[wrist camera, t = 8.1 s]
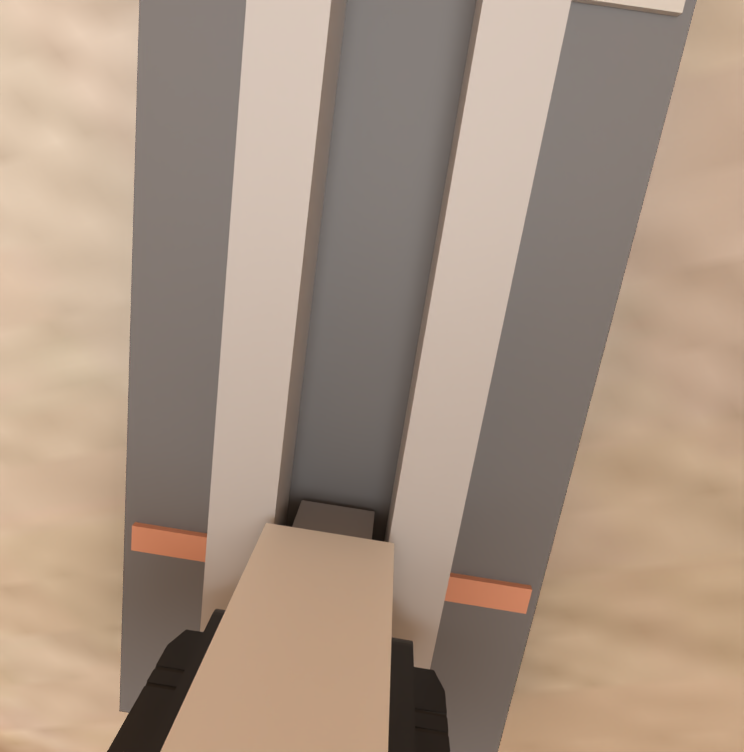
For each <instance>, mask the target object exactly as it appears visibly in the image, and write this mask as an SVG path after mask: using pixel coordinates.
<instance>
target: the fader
mask: <svg viewBox="0 0 744 752" xmlns="http://www.w3.org/2000/svg"><path fill="white" fill-rule="evenodd" d="M374 513H375V512H374V511H367V510H361V509H355V508H348V507H342V506H336V505H330V504H323V503H317V502H311V501H304V500H302V501H301V504H300V506H299V509H298V512H297V515H296V517H295V520H294V523H293V525H292V527H289V526H283V525H277V524H270V523H266V524H265V526H264V528H263V531H262V533H261V535H260V537H259V539H258V541H257V544H256V546H255V548H254V550H253V552H252V554H251V557H250V559H249V561H248V563H247V565H246V567H245V570H244V572H243V574H242V576H241V578H240V580H239V583H238V585H237V587H236V589H235V591H234V593H233V596H232V598H231V600H230V602H229V604H228V606H227V608H226V611H225V613H224V615H223V617H222V619H221V621H220V624H219V626H218V628H217V630H216V632H215V634H214V637H213V639H212V641H211V643H210V645H209V647H208V650H207V652H206V654H205V656H204V658H203V660H202V663H201V665H200V667H199V669H198V671H197V673H196V676H195V678H194V680H193V682H192V684H191V686H190V689H189V691H188V693H187V695H186V697H185V699H184V702H183V704H182V706H181V708H180V710H179V712H178V715H177V717H176V719H175V721H174V723H173V725H172V728H171V730H170V732H169V734H168V736H167V738H166V741H165V743H164V745H163V747H162V749H161V751H160V752H388V736H389V703H390V670H391V638H392V605H393V573H394V543H389V542H383V541H377V540H372V533H373V523H374Z"/></svg>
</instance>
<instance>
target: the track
mask: <svg viewBox="0 0 744 752" xmlns="http://www.w3.org/2000/svg"><path fill="white" fill-rule="evenodd" d="M696 1H697V0H139V35H138V71H137V107H136V142H135V178H134V214H133V249H132V285H131V321H130V357H129V392H128V428H127V464H126V499H125V535H124V571H123V606H122V642H121V678H120V711H122V712H128V713H129V712H130V710H131V709H132V707H133V705H134V703H135V702H136V700H137V698H138V696H139V694H140V693H141V691H142V689H143V687H144V686H146V683H147V680H148V678H149V677H150V675H151V673H152V671H153V669H155V667H156V664H157V662H158V660H159V659H160V657H161V655H162V653H163V652H164V650H165V648H166V646H167V645H168V644H169V643H170V642H171V641H173V640H174V639H175V638H176V637H177V636H179V635H180V634H181V633H182V632H184V631H185V630H186V629H187V630H193V631H199V632H204V630H205V628H206V626H207V624H208V622H209V620H210V617H211V615H212V613H213V612H214V610H215V609H222V610H226V608H227V606H228V604H229V602H230V600H231V598H232V596H233V593H234V591H235V589H236V587H237V585H238V583H239V580H240V578H241V576H242V574H243V572H244V570H245V567H246V565H247V563H248V561H249V559H250V557H251V554H252V552H253V550H254V548H255V546H256V544H257V541H258V539H259V537H260V535H261V533H262V531H263V528H264V526H265V524H266V523H270V524H277V525H283V526H289V527H292V525H293V523H294V520H295V517H296V515H297V512H298V509H299V506H300V504H301V501H302V500H304V501H311V502H317V503H323V504H330V505H336V506H342V507H348V508H355V509H361V510H367V511H374V512H375V513H374V523H373V533H372V540H377V541H383V542H389V543H394V573H393V605H392V637H393V638H399V639H405V640H411V641H413V655H414V667H418V668H424V669H431V670H434V671H435V673H436V675H437V677H438V679H439V681H440V682H441V684H442V686H443V688H444V690H445V697H446V709H447V720H448V737H449V743H450V752H498V748H499V745H500V741H501V737H502V733H503V730H504V726H505V722H506V718H507V714H508V711H509V707H510V703H511V699H512V696H513V692H514V688H515V684H516V681H517V677H518V673H519V669H520V665H521V662H522V658H523V654H524V650H525V647H526V643H527V639H528V635H529V631H530V628H531V624H532V620H533V616H534V613H535V609H536V605H537V601H538V597H539V594H540V590H541V586H542V582H543V579H544V575H545V571H546V567H547V563H548V560H549V556H550V552H551V548H552V545H553V541H554V537H555V533H556V529H557V526H558V522H559V518H560V514H561V511H562V507H563V503H564V499H565V495H566V492H567V488H568V484H569V480H570V477H571V473H572V469H573V465H574V461H575V458H576V454H577V450H578V446H579V443H580V439H581V435H582V431H583V427H584V424H585V420H586V416H587V412H588V409H589V405H590V401H591V397H592V393H593V390H594V386H595V382H596V378H597V375H598V371H599V367H600V363H601V359H602V356H603V352H604V348H605V344H606V341H607V337H608V333H609V329H610V325H611V322H612V318H613V314H614V310H615V307H616V303H617V299H618V295H619V291H620V288H621V284H622V280H623V276H624V273H625V269H626V265H627V261H628V257H629V254H630V250H631V246H632V242H633V239H634V235H635V231H636V227H637V223H638V220H639V216H640V212H641V208H642V205H643V201H644V197H645V193H646V189H647V186H648V182H649V178H650V174H651V171H652V167H653V163H654V159H655V155H656V152H657V148H658V144H659V140H660V137H661V133H662V129H663V125H664V121H665V118H666V114H667V110H668V106H669V103H670V99H671V95H672V91H673V87H674V84H675V80H676V76H677V72H678V69H679V65H680V61H681V57H682V53H683V50H684V46H685V42H686V38H687V35H688V31H689V27H690V23H691V19H692V16H693V12H694V8H695V4H696Z"/></svg>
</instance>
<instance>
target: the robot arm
mask: <svg viewBox="0 0 744 752" xmlns="http://www.w3.org/2000/svg"><path fill="white" fill-rule="evenodd" d="M225 611H226V610H222V609H215V610H214V612H213V613H212V615H211V617H210V620H209V622H208V624H207V626H206V628H205V630H204V632H199V631H193V630H187V629H186V630H185V631H184V632H182V633H181V634H180V635H179V636H177V637H176V638H175V639H174V640H173V641H171V642H170V643H169V644H168V645H167V646H166V648H165V650H164V652H163V653H162V655H161V657H160V659H159V660H158V662H157V664H156V667H155V669H153V671H152V673H151V675H150V677H149V678H148V680H147V683H146V686H144V687H143V689H142V691H141V693H140V694H139V696H138V698H137V700H136V702H135V703H134V705H133V707H132V709H131V710H130V712H129V714H128V716H127V718H126V719H125V721H124V723H123V725H122V727H121V728H120V730H119V732H118V734H117V735H116V737H115V739H114V741H113V743H112V744H111V746H110V748H109V750H108V751H107V752H160V751H161V749H162V747H163V745H164V743H165V741H166V738H167V736H168V734H169V732H170V730H171V728H172V725H173V723H174V721H175V719H176V717H177V715H178V712H179V710H180V708H181V706H182V704H183V702H184V699H185V697H186V695H187V693H188V691H189V689H190V686H191V684H192V682H193V680H194V678H195V676H196V673H197V671H198V669H199V667H200V665H201V663H202V660H203V658H204V656H205V654H206V652H207V650H208V647H209V645H210V643H211V641H212V639H213V637H214V634H215V632H216V630H217V628H218V626H219V624H220V621H221V619H222V617H223V615H224V613H225ZM388 752H450V743H449V737H448V720H447V709H446V697H445V690H444V688H443V686H442V684H441V682H440V681H439V679H438V677H437V675H436V673H435V671H434V670H431V669H424V668H418V667H414V655H413V641H411V640H405V639H399V638H393V637H392V638H391V670H390V703H389V736H388Z"/></svg>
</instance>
